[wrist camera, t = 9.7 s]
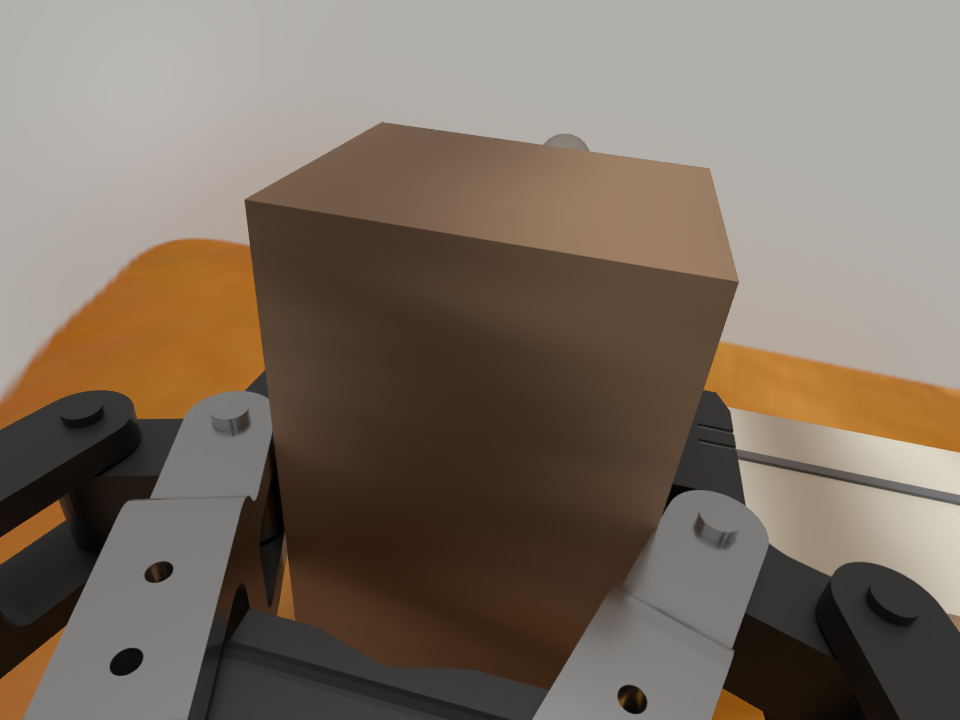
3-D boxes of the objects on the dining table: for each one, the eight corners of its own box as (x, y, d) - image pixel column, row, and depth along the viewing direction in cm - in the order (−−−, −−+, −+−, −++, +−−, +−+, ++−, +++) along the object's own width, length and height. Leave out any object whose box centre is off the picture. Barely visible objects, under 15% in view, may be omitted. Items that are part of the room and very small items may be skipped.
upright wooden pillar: (598, 489, 19) (693, 105, 13) (561, 819, 12) (738, 282, 6) (439, 454, 20) (462, 76, 14) (310, 743, 13) (245, 199, 7)
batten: (1328, 617, 18) (1427, 541, 16) (1586, 872, 13) (1769, 800, 11) (321, 400, 22) (315, 323, 21) (224, 525, 17) (207, 437, 16)
